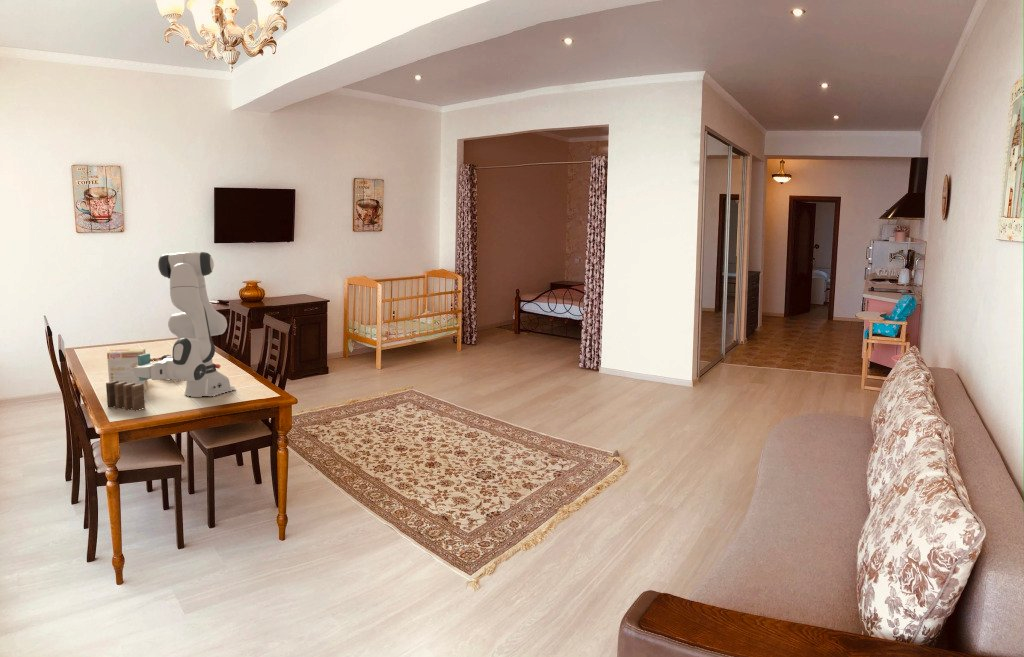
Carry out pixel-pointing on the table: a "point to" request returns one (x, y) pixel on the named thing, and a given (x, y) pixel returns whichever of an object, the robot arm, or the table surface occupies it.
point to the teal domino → (143, 362)
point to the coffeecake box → (124, 366)
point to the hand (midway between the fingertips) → (142, 365)
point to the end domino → (111, 393)
